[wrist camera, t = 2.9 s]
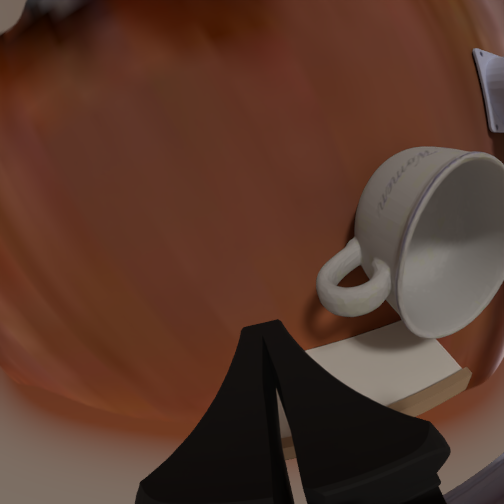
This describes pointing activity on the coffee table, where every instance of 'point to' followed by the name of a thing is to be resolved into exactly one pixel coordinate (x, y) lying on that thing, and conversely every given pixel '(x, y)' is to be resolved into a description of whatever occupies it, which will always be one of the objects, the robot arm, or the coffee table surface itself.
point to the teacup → (424, 241)
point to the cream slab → (388, 372)
